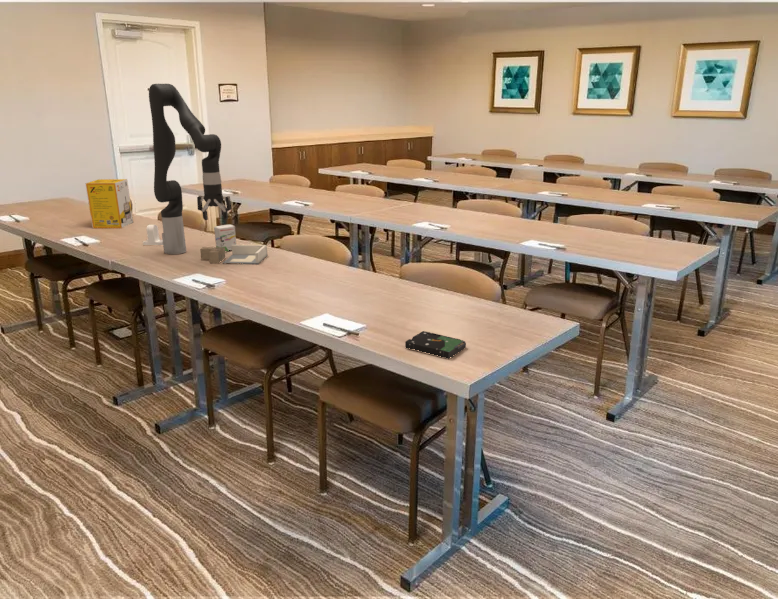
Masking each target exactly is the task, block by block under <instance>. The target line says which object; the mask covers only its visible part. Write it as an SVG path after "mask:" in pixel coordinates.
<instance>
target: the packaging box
mask: <svg viewBox="0 0 778 599" xmlns="http://www.w3.org/2000/svg"><path fill="white" fill-rule="evenodd" d="M85 190H86V195H87V196H86V197H87V200H88V208H89V213H90V220H91V226H92V229H123V228H125V227H127V226H129V225H131V224H132V223H134V219H133V218H134V217H133V212H132V211H133V210H132V205H131V204H132V202H131V198H130V197H131V196H130V190H129V182H128V178H116V179H114V178H112V179H110V178H108V179H105V178H104V179H102V178H101V179H100V178H99V179H95V180H93V181H90V182H86V183H85ZM128 224H129V225H128ZM126 225H127V226H126ZM124 226H125V227H124ZM122 227H123V228H122Z"/></svg>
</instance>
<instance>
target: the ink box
mask: <svg viewBox="0 0 778 599" xmlns="http://www.w3.org/2000/svg"><path fill="white" fill-rule="evenodd" d="M213 230H214V240H215V247H225V251H228V252H230V251H229V250H232V245H237V238H236V226H235V225H233V224H230V223H229V224H223V225H222V224H221V225H217V226H214V227H213Z"/></svg>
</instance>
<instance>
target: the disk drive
mask: <svg viewBox="0 0 778 599" xmlns="http://www.w3.org/2000/svg"><path fill="white" fill-rule="evenodd" d="M404 342H405V345H404V346H405V347H406V348H410V349H415V350H419V351H422V352H426V353H430V354H434V355H438V356H441V357H440V358H442V357H446V358H450V357H452V356H453V355H455V354H456V355H458V354H459V353H461V352H462V351H464V348H465V349H466V348H467V342H466V341H465V340H462V339H459V338H456V337H455V338H454V337H451V336H448V335H442V334H438V333H434V332H430V331H425V330H423V331H421V332H419V333H417V334H415V335H414V336H412V337H411V338H410V339H407V340H406V341H404ZM406 348H405V349H406ZM410 349H409V350H410ZM461 350H462V351H461ZM422 352H421V353H422ZM458 352H459V353H458ZM426 353H425V354H426ZM430 354H429V355H430ZM434 355H433V356H434ZM456 355H455V356H456ZM438 356H437V357H438ZM453 357H454V356H453ZM453 357H452V358H453ZM446 358H445V359H446Z"/></svg>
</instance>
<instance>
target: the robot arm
mask: <svg viewBox="0 0 778 599" xmlns="http://www.w3.org/2000/svg"><path fill="white" fill-rule="evenodd" d="M148 101H149V108H150V114H151V123H152V146H153V156H154V162H153V163H154V174H153V175H154V176H153V178H154V180H153V193H154V197H155V199H156V201H158V202H159V203H168V204H167V205H166V206H165V207H163V208H162V209H161V211H160V217H161V224H162V225H161V226H162V233H161V237H162V239H161V240H163V246H162V247H163V253H164V254H167V255H181V254H185V253H187V244H186V236H185V227H184V221H183V220H184V219H183V209H184V205H183V203H184V202H183V194H182V192H183V191H182V187H181V184H180V182H178V181H177V180H174V179H173V180H172V179H171V180H167V177H168V172H169V168H170V166H171V164H172V162H173V161H174V158H175V156H176V137H175V135H174V132H173V130H172V129H171V127H170V125H169V123H168V122H167V120H166V117H165V111H164V110H165V109H164V107H172V108H174V109H175V110H176V112H177V113H178V119H179V124H180V125H181V127H182V128H183V129H184V131H185V132H186V133H187V134H188V135H189V136H190V138H191V140H192V143H193V144H194V147H195V148H196V150H197V151H199V152H201V153H208V154H207V156H206V157H204V158H202V159H201V169H202V185H203V195H198V196H197V197H196V201H197V203H196V204H197V205H196V206H197V210H198V211H201V212H202V218H203V219H204V221H208V219H209V218H208V211H207V210H208V208H209V207H210V208H211V207H215V208H218V207H219V209H221V210H222V216H223V221H224V222H225V221H228V219H229V215H228V212H229V211H231V210H232V203H231V196H230V195H228V196H223V190H222V189H223V187H222V178H221V173H220V171H221V170H220V157H221V150H222V142H221V139H220V137H219V136H218V135H217V134H213V133H212V134H205V133H206V128H205V125H204V124H203V123H202V122H201V121H200V120H199V119H198V118H197V117H196V116H195V115H194V113H193V112H192V110H191V109H190V107H189V106H188V104H187V103H186V101H185V99H184V98H183V97H182V95H181V94H180V92H179V90H178V89H177V88H176V86H174V85H173V84H172V83H171V84H170V83H153V84H151V85H150V86H149V89H148ZM203 201H204V202H205V204H204V206H203ZM223 202H225V203H226V204H225V203H223Z"/></svg>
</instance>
